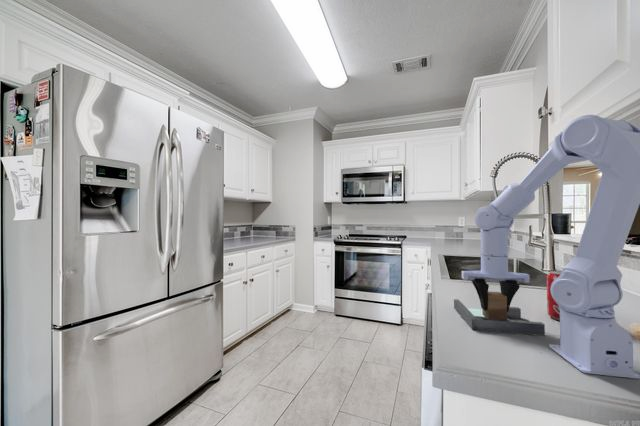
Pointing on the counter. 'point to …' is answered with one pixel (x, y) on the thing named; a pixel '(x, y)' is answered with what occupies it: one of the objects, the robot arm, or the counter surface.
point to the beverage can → (551, 304)
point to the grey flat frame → (500, 322)
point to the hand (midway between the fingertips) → (494, 309)
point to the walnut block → (496, 306)
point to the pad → (477, 312)
